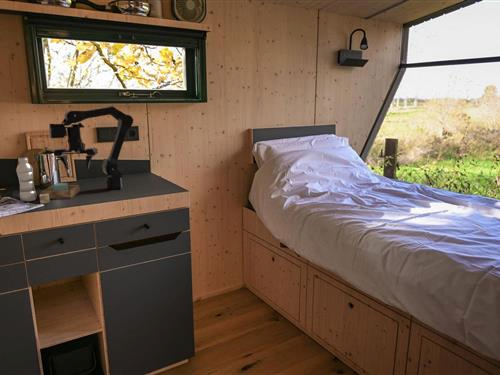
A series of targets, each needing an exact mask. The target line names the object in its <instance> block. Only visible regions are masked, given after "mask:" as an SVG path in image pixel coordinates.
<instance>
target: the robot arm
mask: <svg viewBox="0 0 500 375" xmlns="http://www.w3.org/2000/svg"><path fill="white" fill-rule="evenodd" d="M103 116H104V117H105V116H111V117H112V118H113V119H115V120H116V121H117V131H116V134H115V137H114V140H113V143H112V146H111V148H110V149H111V150H110V153H109V156H108V157H107V159H106V158H103V161H102V164H101V167H102V168H101V170H102V171H103V173H105V174H106V176H107V179H106V185H107V186H106V187H107V190H108V191H112V190H113V191H116V190H117V191H119V190H122V189H123V182H122V181H123V180H122V177H123V173H122V171H121V172H120V170H119V157H120V154H121V150H122V148H123V144H124V141H125V138H126V135H127V133H128V132H129V130H130V129H131V128H132V125H133V124H134V118H133V117H132V116H131V115H130V114H126V113H124V112H122V111H121V110H119V109H117V108H116V106H115V107H114V106H111V105H110V106H107V107H100V108H93V109H88V110H67V111H66V112H65V114H64V118H63V120H62V121H61V123H49V125H48V126H49V127H48V128H49V129H48V134H49V138H50V139H51V140H52V139H53V140H54V139H65V137H66V136H67V143H68V150H67V149H66V148H56V149H54V150H53V156H54V157H56V158H59V160H60V161H61V162H62V164H63V165H64V167H65V168H66V170H67V171H68V170H69V169H70V168H69V162H68V155H75V154H76V155H77V154H78V155H79V154H84V155H85V154H86V155H85V160H86V161H85V162H86V163H85V164H86V169H87V170H89V168H90V165H91V160H92V159H93V157H94V156H96V155H97V154H99V152H98V151H99V150H98V148H97V147H88V148H86V143H85V142H83V139H82V136H81V135H82V134H81V128H82V129H83V128H85V127H86V126H85V125H83V124H82V122H83V121H85V120H87V119H88V120H89V119H92V118H97V117H103Z"/></svg>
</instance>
